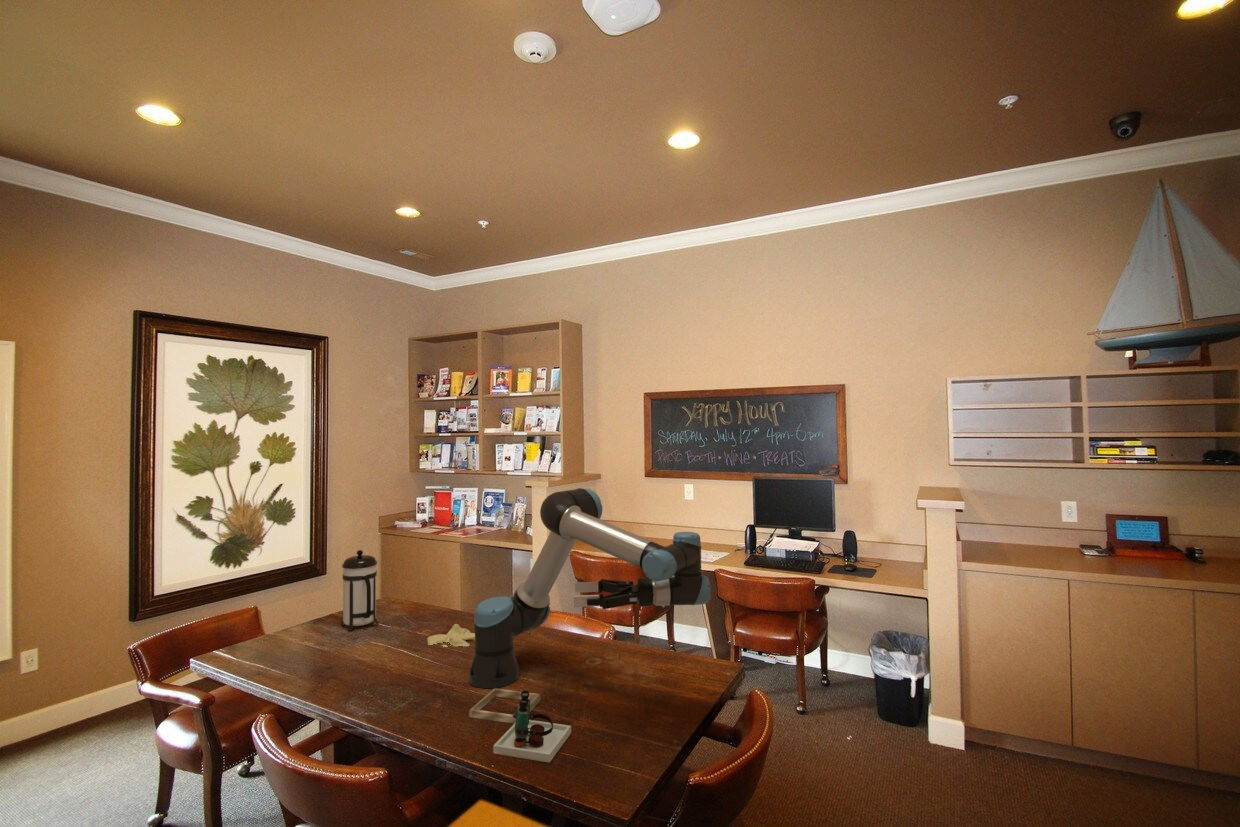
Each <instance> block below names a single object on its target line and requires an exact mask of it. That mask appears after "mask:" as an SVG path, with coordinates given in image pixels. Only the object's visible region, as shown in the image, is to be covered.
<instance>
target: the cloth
mask: <svg viewBox="0 0 1240 827" xmlns="http://www.w3.org/2000/svg"><path fill="white" fill-rule="evenodd" d="M426 640H427V645H428V646H429V645H433V644H435V645H438V644H437V643H441V645H440V647H441V646H443V647H442V648H444V647H448V646H449V645H448V644H449V643H450V644H451V645H453V646H452V647H458V646H463V647H469V646H470V645H471V644H470V643H469V642H467V641H475V632H471V631H470V630H469V629H467V628H466V627H465V628H464V627H463V628H462V627H461V626H460V625H459V624H457V623H455V624H453V625H452V628H450V629H449V631H448V632H447V633H446V634H441V633H440V634H433V635H430V636H428V637H427V639H426ZM466 640H467V641H466ZM443 642H446V643H447V642H449V643H448V644H444V643H443ZM447 645H448V646H447ZM451 645H450V646H451ZM433 646H434V645H433Z"/></svg>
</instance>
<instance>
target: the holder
mask: <svg viewBox="0 0 1240 827" xmlns="http://www.w3.org/2000/svg"><path fill="white" fill-rule="evenodd" d="M521 692H522V691H518V690H510V689H502V688H492V690H490V691H489V692H488V693H487V694H485V696H483V697H482V698H481V699H480V700H479V701H478V702H477V703H476V704H474V705H473V706H472V707H471V708H470V709H469V710H468V718H474V719H479V720H486V721H492V722H502V723H507V724H512V725H514V724H515V722H516V718H513V714H510V713H503V712H498V711H497V712H496V711H488V710H482V709H483V708H484V707H485V706H486V705H488V704H489V703H490V702H491V701H492V700H493V699H494V698H495V697H500V698H507V699H516V700H521V698H522V697H521ZM529 693H530V694H529V697H528V699H530V712H531V711H532V710H534V708H535V707H536V706H537V705H538V704H539V703H541V695H542V694H541V693H535V692H529Z"/></svg>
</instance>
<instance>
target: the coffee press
mask: <svg viewBox="0 0 1240 827" xmlns="http://www.w3.org/2000/svg"><path fill="white" fill-rule="evenodd" d="M377 564H378V560H376V558H375V557H374V556H373V555H368V554H364V551H363V550H362V549H359V550H357V552H356V555H353V556H350V557H347V558H346V559H345V560H344V561H343V563H342V565H341V566H342V567H341V568H342V571H343V572H342V594H343V595H342V596H343V597H342V603H343V604H342V616H343V617H342V622H341V624H340V625H341V626H342V625H343V624H345V625H346V626H348V627H347V632H353V631H354V629H355V627H359V626H360V627H361V626H365V625H368V624H371V625H372V626H373V627H377V626H378V625H379V621H378V620H377V572H378V570H377ZM374 622H375V623H374ZM345 625H344V626H345ZM374 625H376V626H374Z"/></svg>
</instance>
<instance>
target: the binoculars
mask: <svg viewBox="0 0 1240 827" xmlns="http://www.w3.org/2000/svg"><path fill="white" fill-rule="evenodd" d="M520 692H521V697H522V698H521V699H519V702H518V705H517V710H516V711H515V712H513V713H512V715H513V718H516V723H515V736H516V739H515V740H514V746H515V747H520V746H523V745H524V744H526V743H529V744H531V745H533V746H542V745H543V741H544V738H543V737H542V736H545V735H548V734H549V733H551V732H552V730H553V723H554V722H553V719H552V718H551V717H550V716H548V715H546V714H543V713H535V711H532V712H531V711H530V702H531V701H530V699H528V697H529V694H530V693H531V692H530V691H529V690H526V689H524V690H522V691H520ZM531 717H532V719H531ZM535 719H543V720H546V721H547V722H548V723H551V725H552V728H551V729H549V730H547V731H545V728H544V727H543V726H542V725H539V724H536V725H532V726H531V727H530V728H528V724H529V720H532V721H533V720H534V721H535ZM528 729H530V731H529V730H528ZM528 733H530V735H532V736H530V735H528ZM527 735H528V736H529V740H528V741H527V739H526V737H527Z"/></svg>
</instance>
